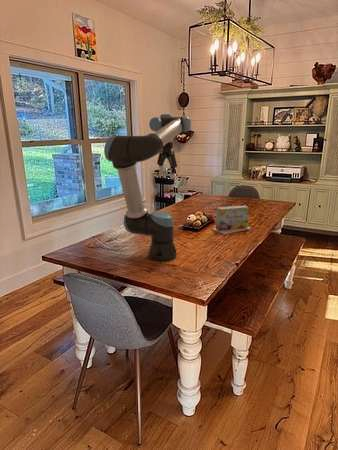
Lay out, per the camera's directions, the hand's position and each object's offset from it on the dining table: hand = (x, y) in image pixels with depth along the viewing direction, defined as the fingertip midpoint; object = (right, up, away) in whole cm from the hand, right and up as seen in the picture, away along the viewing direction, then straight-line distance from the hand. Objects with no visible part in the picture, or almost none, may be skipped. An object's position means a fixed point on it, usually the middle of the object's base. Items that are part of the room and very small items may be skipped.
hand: (166, 177), depth 194 cm
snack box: (+44, -32, +20) cm, 58 cm away
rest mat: (+44, -32, +20) cm, 58 cm away
